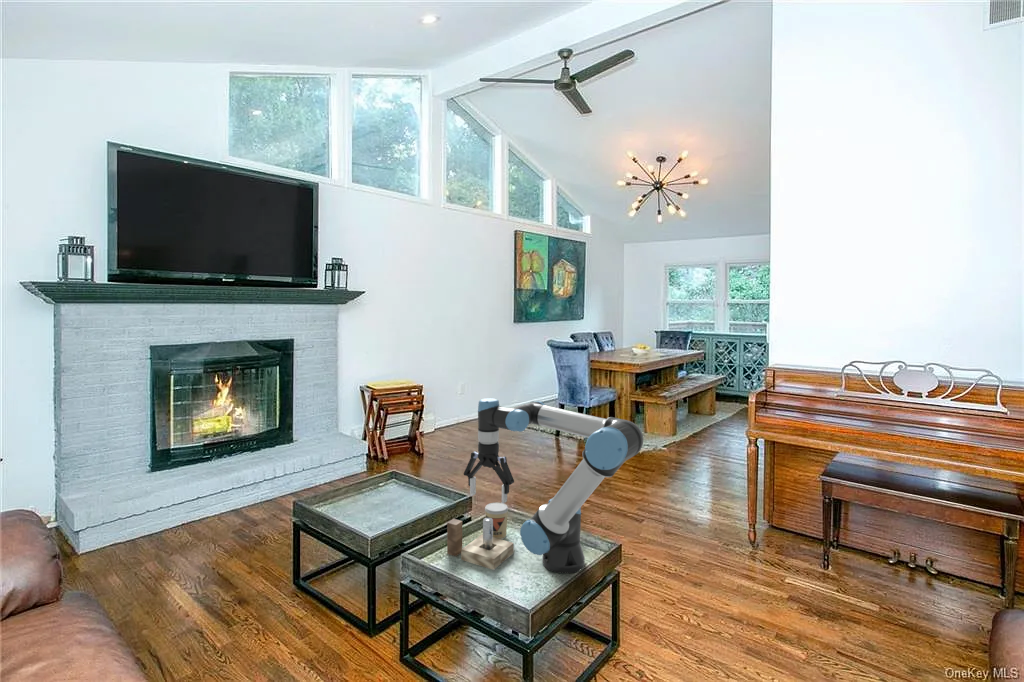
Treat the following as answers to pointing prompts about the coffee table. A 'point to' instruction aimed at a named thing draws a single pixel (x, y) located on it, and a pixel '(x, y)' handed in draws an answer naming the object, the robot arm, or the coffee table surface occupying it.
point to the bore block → (487, 552)
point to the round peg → (488, 533)
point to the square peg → (454, 537)
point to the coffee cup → (498, 518)
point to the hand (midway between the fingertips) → (488, 498)
